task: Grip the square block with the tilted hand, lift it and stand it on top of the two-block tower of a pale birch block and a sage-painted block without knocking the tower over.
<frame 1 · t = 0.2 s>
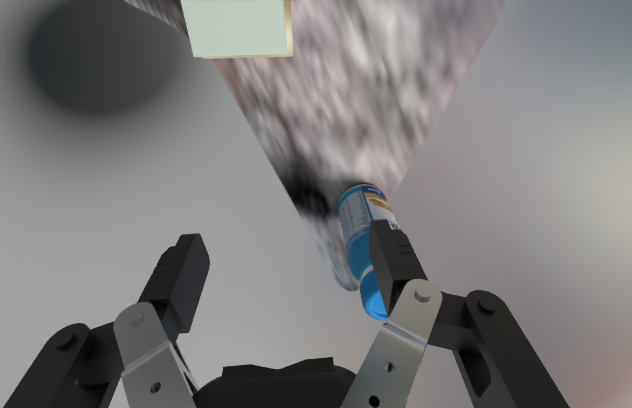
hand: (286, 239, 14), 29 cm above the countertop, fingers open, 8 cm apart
tower base: (246, 3, 32), on the countertop, touching tower top
tower top: (239, 0, 29), point 4 cm above the countertop, touching tower base
beverage bottle: (361, 202, 48), on the countertop
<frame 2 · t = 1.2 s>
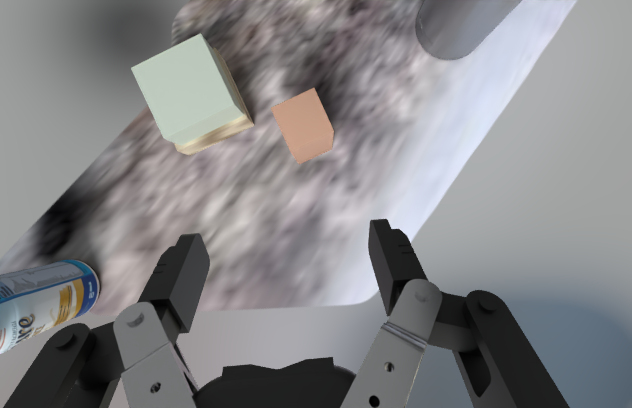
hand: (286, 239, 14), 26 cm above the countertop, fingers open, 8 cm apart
tower base: (208, 109, 41), on the countertop, touching tower top
square block: (307, 140, 40), on the countertop
tower top: (197, 98, 37), point 4 cm above the countertop, touching tower base
beverage bottle: (75, 286, 41), on the countertop
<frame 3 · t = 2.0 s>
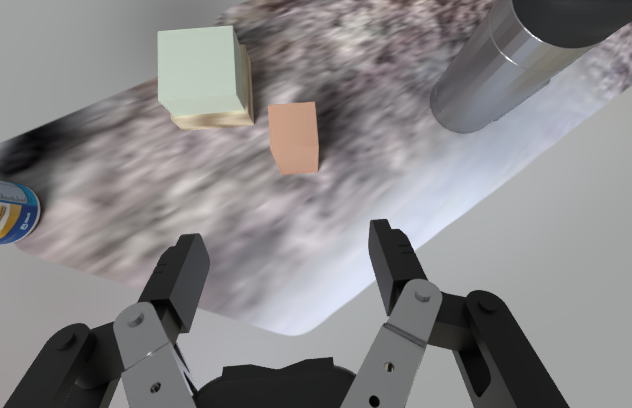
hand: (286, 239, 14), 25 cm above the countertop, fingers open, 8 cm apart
tower base: (218, 96, 42), on the countertop, touching tower top
square block: (298, 156, 40), on the countertop
tower top: (208, 81, 38), point 4 cm above the countertop, touching tower base
beverage bottle: (14, 214, 39), on the countertop
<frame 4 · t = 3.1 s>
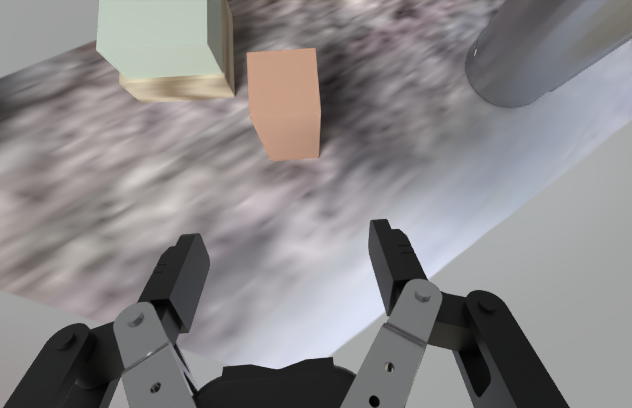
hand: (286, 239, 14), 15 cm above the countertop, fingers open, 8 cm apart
tower base: (190, 60, 32), on the countertop, touching tower top
square block: (293, 136, 30), on the countertop
tower top: (175, 34, 28), point 4 cm above the countertop, touching tower base
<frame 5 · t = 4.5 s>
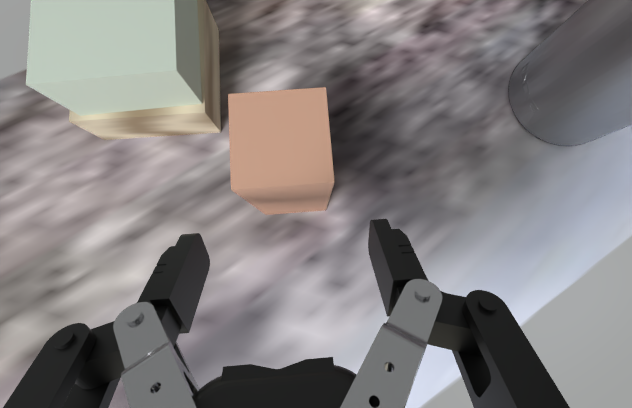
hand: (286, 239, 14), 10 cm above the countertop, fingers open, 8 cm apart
tower base: (165, 85, 26), on the countertop, touching tower top
square block: (294, 183, 24), on the countertop
tower top: (140, 55, 22), point 4 cm above the countertop, touching tower base
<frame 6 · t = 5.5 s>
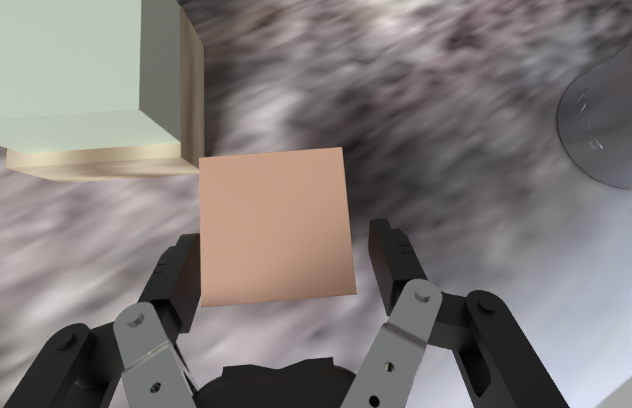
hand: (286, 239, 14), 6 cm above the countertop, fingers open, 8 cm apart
tower base: (138, 113, 21), on the countertop, touching tower top
square block: (295, 236, 19), on the countertop
tower top: (105, 77, 17), point 4 cm above the countertop, touching tower base
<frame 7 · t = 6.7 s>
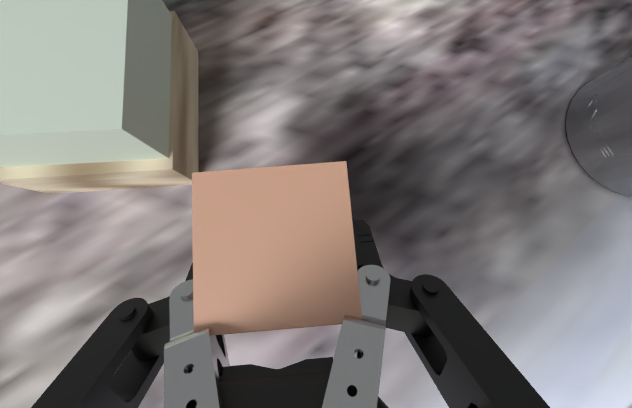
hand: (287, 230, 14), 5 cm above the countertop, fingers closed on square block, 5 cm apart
tower base: (130, 121, 20), on the countertop, touching tower top
square block: (295, 247, 19), on the countertop, touching gripper
tower top: (92, 88, 17), point 4 cm above the countertop, touching tower base
when the fingers open (13 cm above the countertop, at t = 12.8 s): square block moves 1 cm, point 8 cm above the countertop.
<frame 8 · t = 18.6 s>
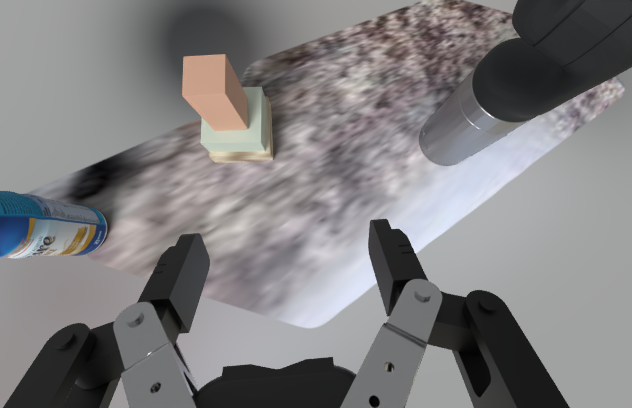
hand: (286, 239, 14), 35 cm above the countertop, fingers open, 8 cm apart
tower base: (244, 135, 51), on the countertop
square block: (231, 114, 43), point 8 cm above the countertop
tower top: (238, 125, 47), point 4 cm above the countertop
beverage bottle: (85, 230, 48), on the countertop
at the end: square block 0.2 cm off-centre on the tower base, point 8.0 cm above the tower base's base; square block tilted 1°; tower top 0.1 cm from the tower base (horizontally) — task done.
